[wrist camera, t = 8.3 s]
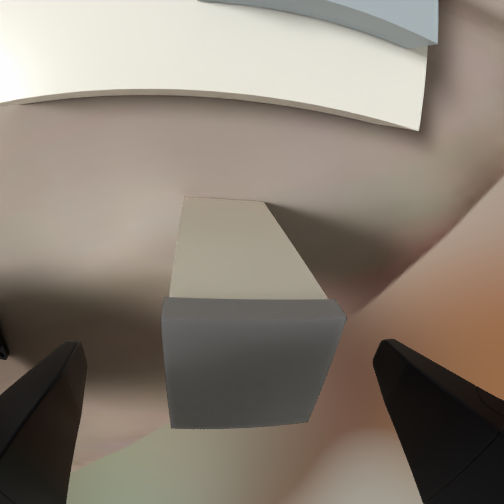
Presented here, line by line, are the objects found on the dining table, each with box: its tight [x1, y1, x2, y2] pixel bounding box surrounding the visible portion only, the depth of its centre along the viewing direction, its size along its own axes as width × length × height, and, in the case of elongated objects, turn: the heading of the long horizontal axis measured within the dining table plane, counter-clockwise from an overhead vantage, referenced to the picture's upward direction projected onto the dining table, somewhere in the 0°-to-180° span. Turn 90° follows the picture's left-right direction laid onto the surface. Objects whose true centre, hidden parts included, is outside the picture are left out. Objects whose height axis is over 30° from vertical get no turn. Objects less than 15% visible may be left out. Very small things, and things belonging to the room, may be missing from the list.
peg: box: [161, 197, 347, 429], centre depth 12 cm, size 4×4×10 cm
